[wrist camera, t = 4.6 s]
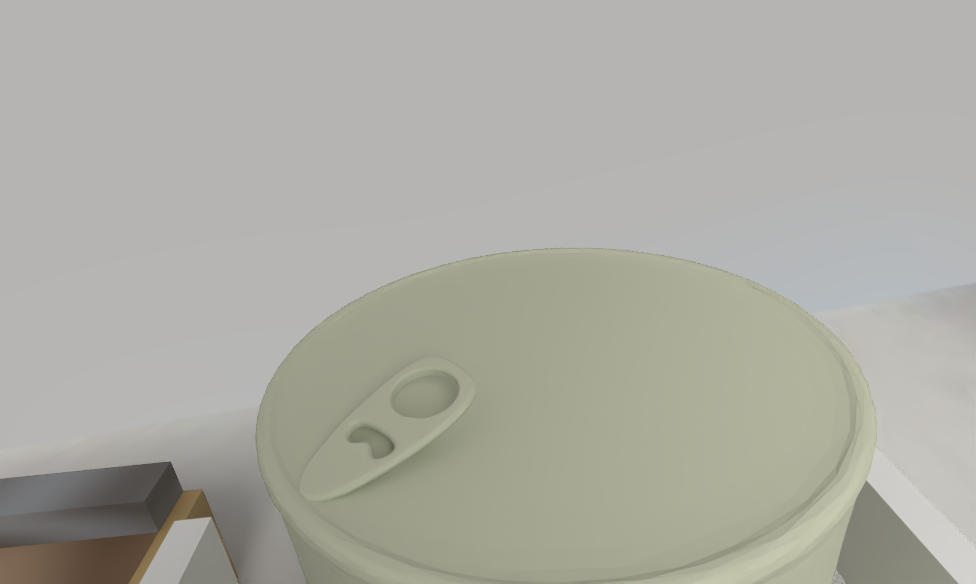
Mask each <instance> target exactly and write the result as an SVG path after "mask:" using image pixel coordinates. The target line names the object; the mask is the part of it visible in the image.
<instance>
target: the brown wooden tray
mask: <svg viewBox="0 0 976 584" xmlns="http://www.w3.org/2000/svg"><path fill="white" fill-rule="evenodd" d="M207 517H212V520H213V522H214V525H215V527H216V530H217V532H218V534H219V537H220V539H221V542H222V544H223V547H224V549H225V552H226V554H227V556H228V559H229V561H230V564H231V566H232V569H233V571H234V573H235V576H236V578H237V579H238V576H237V573H236V571H235V568H234V566H233V563H232V561H231V559H230V556H229V554H228V551H227V549H226V546H225V544H224V541H223V539H222V536H221V534H220V532H219V529H218V527H217V524H216V522H215V519H214V517H213V514H212V512H211V509H210V507H209V505H208V502H207V500H206V497H205V495H204V492H203V490H202V489H200V490H190V491H183V490H182V487H181V485H180V483H179V480H178V478H177V475H176V473H175V471H174V468H173V466H172V464H171V462H161V463H152V464H142V465H132V466H122V467H113V468H103V469H93V470H83V471H74V472H64V473H54V474H45V475H35V476H25V477H15V478H6V479H0V584H139V583H140V581H141V580H142V578H143V576H144V574H145V573H146V571H147V569H148V567H149V565H150V564H151V562H152V560H153V558H154V557H155V555H156V553H157V551H158V549H159V548H160V546H161V544H162V542H163V541H164V539H165V537H166V535H167V534H168V532H169V530H170V528H171V526H172V525H173V523H174V521H179V520H188V519H197V518H207Z"/></svg>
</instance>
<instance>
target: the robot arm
mask: <svg viewBox="0 0 976 584" xmlns="http://www.w3.org/2000/svg"><path fill="white" fill-rule="evenodd" d="M836 569H837V570H838V572H839V573H840V575H841V576H842V578H843V579H844V580H845V582H846V583H847V584H976V547H975V546H974V545H973V544H972V543H971V542H970V541H969V540H968V539H967V538H966V537H965V536H964V535H963V534H962V533H961V532H960V531H959V530H958V529H957V528H956V527H955V526H954V525H953V524H952V523H951V522H950V521H949V520H948V519H947V518H946V517H945V516H944V515H943V514H942V512H941V511H940V510H939V509H938V508H937V507H936V506H935V505H934V504H933V503H932V502H931V501H930V500H929V499H928V498H927V497H926V496H925V495H924V494H923V493H922V492H921V491H920V490H919V489H918V488H917V487H916V486H915V485H914V484H913V483H912V482H911V481H910V480H909V479H908V478H907V477H906V476H905V475H904V474H903V473H902V472H901V471H900V470H899V469H898V468H897V467H896V466H895V465H894V464H893V463H892V462H891V461H890V460H889V459H888V458H887V457H886V456H885V455H884V454H883V453H882V452H881V451H880V449H879V448H878V447H877V446H875V451H874V456H873V460H872V464H871V468H870V471H869V474H868V476H867V479H866V481H865V484H864V486H863V488H862V489H861V491H860V493H859V495H858V496H857V498H856V500H855V504H854V507H853V510H852V513H851V517H850V520H849V523H848V527H847V530H846V533H845V536H844V540H843V543H842V546H841V550H840V554H839V558H838V562H837V566H836ZM139 584H239V583H238V581H237V578H236V576H235V573H234V571H233V569H232V566H231V564H230V561H229V559H228V556H227V554H226V552H225V549H224V547H223V544H222V542H221V539H220V537H219V534H218V532H217V530H216V527H215V525H214V522H213V520H212V517H207V518H197V519H188V520H179V521H174V523H173V525H172V526H171V528H170V530H169V532H168V534H167V535H166V537H165V539H164V541H163V542H162V544H161V546H160V548H159V549H158V551H157V553H156V555H155V557H154V558H153V560H152V562H151V564H150V565H149V567H148V569H147V571H146V573H145V574H144V576H143V578H142V580H141V581H140V583H139Z"/></svg>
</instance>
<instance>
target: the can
mask: <svg viewBox="0 0 976 584" xmlns="http://www.w3.org/2000/svg"><path fill="white" fill-rule="evenodd" d="M875 446H876V411H875V407H874V403H873V400H872V396H871V393H870V389H869V385H868V383H867V381H866V379H865V377H864V375H863V373H862V371H861V369H860V367H859V365H858V364H857V362H856V361H855V359H854V358H853V356H852V355H851V353H850V352H849V351H848V350H847V348H846V347H845V346H844V345H843V344H842V343H841V341H840V340H839V339H838V338H837V337H836V336H835V335H834V334H833V333H832V332H831V331H830V330H829V329H828V328H827V327H826V326H825V325H824V324H822V323H821V322H820V321H818V320H817V319H816V318H814V317H813V316H812V315H810V314H809V313H808V312H806V311H805V310H804V309H802V308H801V307H800V306H798V305H797V304H795V303H793V302H792V301H790V300H788V299H786V298H785V297H783V296H781V295H780V294H777V293H776V292H774V291H772V290H770V289H768V288H765V287H763V286H761V285H759V284H757V283H755V282H753V281H751V280H748V279H746V278H743V277H740V276H737V275H734V274H732V273H729V272H726V271H723V270H720V269H717V268H713V267H710V266H707V265H703V264H700V263H696V262H693V261H688V260H683V259H678V258H674V257H668V256H664V255H657V254H650V253H643V252H635V251H628V250H615V249H599V248H550V249H535V250H523V251H514V252H506V253H498V254H491V255H486V256H480V257H475V258H470V259H466V260H462V261H457V262H454V263H449V264H445V265H441V266H438V267H435V268H432V269H428V270H425V271H422V272H419V273H416V274H412V275H409V276H407V277H404V278H402V279H399V280H397V281H394V282H392V283H389V284H387V285H385V286H382V287H380V288H378V289H376V290H374V291H372V292H370V293H367V294H366V295H364V296H362V297H360V298H358V299H357V300H355V301H353V302H351V303H349V304H348V305H346V306H345V307H343V308H341V309H340V310H338V311H337V312H335V313H334V314H332V315H331V316H329V317H328V318H327V319H325V320H324V321H323V322H322V323H320V324H319V325H318V326H316V327H315V328H314V329H313V330H311V331H310V332H309V333H308V334H307V335H306V336H305V337H304V338H303V339H302V340H301V341H300V342H299V343H298V344H297V345H296V346H295V347H294V348H293V349H292V351H291V352H290V353H289V354H288V356H287V357H286V358H285V360H284V361H283V362H282V363H281V365H280V366H279V367H278V369H277V371H276V372H275V374H274V376H273V378H272V379H271V381H270V383H269V384H268V386H267V389H266V392H265V395H264V397H263V400H262V402H261V405H260V409H259V413H258V417H257V428H256V447H257V456H258V464H259V468H260V471H261V475H262V478H263V480H264V483H265V485H266V487H267V490H268V492H269V495H270V497H271V500H272V502H273V503H274V504H275V506H276V507H277V509H278V510H279V512H280V513H281V515H282V517H283V520H284V522H285V525H286V527H287V530H288V532H289V535H290V537H291V540H292V542H293V545H294V548H295V550H296V553H297V555H298V558H299V561H300V564H301V567H302V569H303V572H304V575H305V578H306V581H307V584H832V582H833V578H834V574H835V570H836V566H837V562H838V558H839V554H840V550H841V546H842V543H843V540H844V536H845V533H846V530H847V527H848V523H849V520H850V517H851V513H852V510H853V507H854V504H855V500H856V498H857V496H858V495H859V493H860V491H861V489H862V488H863V486H864V484H865V481H866V479H867V476H868V474H869V471H870V468H871V464H872V460H873V456H874V451H875Z"/></svg>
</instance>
